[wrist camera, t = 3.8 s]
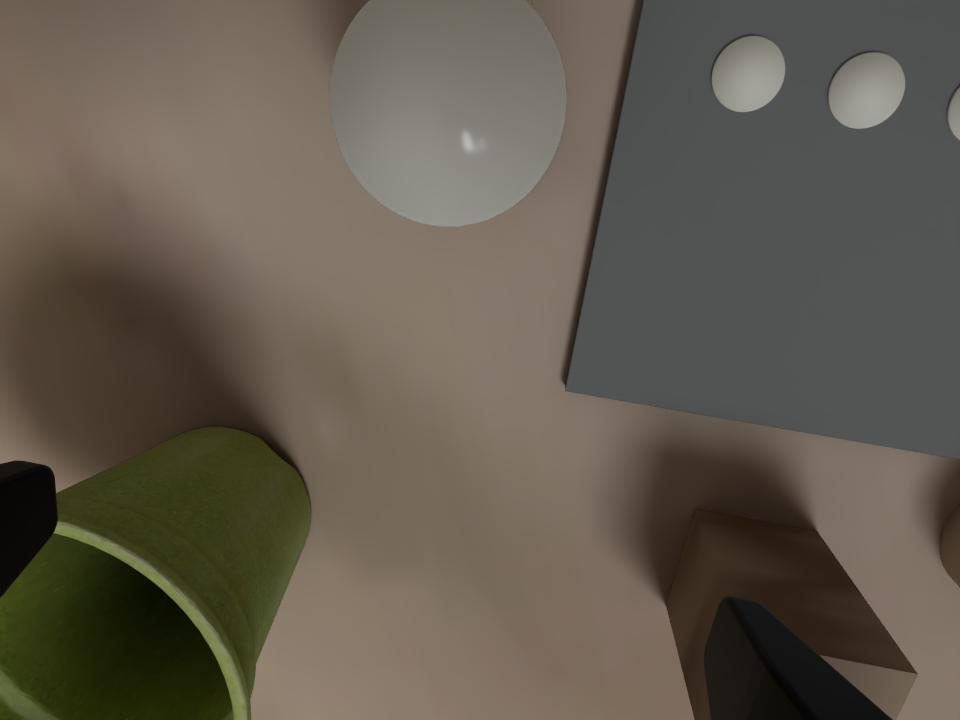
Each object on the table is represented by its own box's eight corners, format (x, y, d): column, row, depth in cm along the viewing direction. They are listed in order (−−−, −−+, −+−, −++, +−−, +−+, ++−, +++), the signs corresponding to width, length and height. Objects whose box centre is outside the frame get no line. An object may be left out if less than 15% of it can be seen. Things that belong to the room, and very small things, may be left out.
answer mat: (1143, 18, 15) (1161, 13, 15) (953, 453, 19) (963, 461, 19) (651, -45, 16) (654, -52, 15) (565, 386, 20) (565, 392, 19)
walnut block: (817, 530, 20) (918, 674, 15) (780, 627, 22) (860, 793, 16) (694, 508, 21) (748, 641, 15) (666, 605, 22) (705, 761, 16)
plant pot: (81, 380, 22) (-203, 514, 14) (340, 375, 21) (200, 519, 12) (141, 602, 25) (-65, 825, 16) (372, 609, 23) (275, 851, 15)
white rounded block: (578, 33, 17) (588, -15, 12) (546, 220, 18) (543, 242, 14) (397, 8, 17) (337, -48, 12) (381, 195, 19) (322, 207, 14)
